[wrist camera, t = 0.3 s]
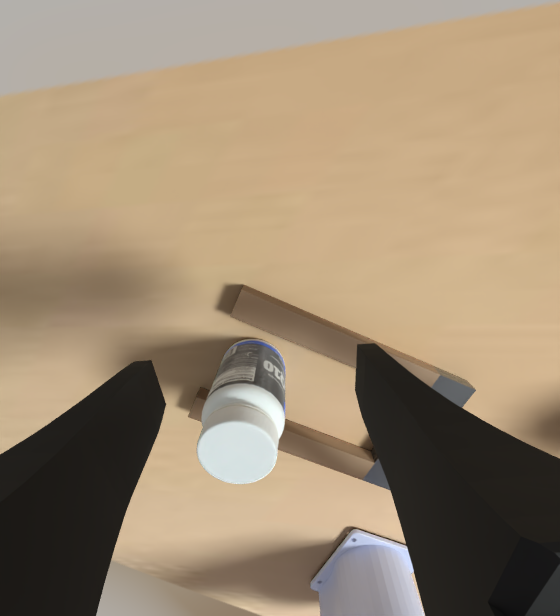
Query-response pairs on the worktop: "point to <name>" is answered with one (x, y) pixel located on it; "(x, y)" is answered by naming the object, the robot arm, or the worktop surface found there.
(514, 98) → the worktop surface
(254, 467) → the pill bottle
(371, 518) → the worktop surface
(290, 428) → the guide channel
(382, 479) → the panel
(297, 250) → the worktop surface
